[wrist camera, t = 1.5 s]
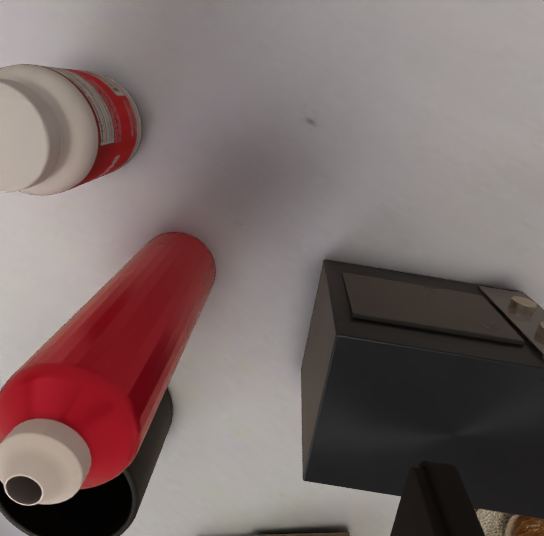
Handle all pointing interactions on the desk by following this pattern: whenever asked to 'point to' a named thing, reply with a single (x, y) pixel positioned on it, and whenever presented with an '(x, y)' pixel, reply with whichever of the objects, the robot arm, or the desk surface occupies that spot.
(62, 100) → the pill bottle
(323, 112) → the desk surface
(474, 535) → the robot arm
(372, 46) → the desk surface
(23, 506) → the mug
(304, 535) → the padlock
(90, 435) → the bottle
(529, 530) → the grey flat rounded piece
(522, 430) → the appliance
